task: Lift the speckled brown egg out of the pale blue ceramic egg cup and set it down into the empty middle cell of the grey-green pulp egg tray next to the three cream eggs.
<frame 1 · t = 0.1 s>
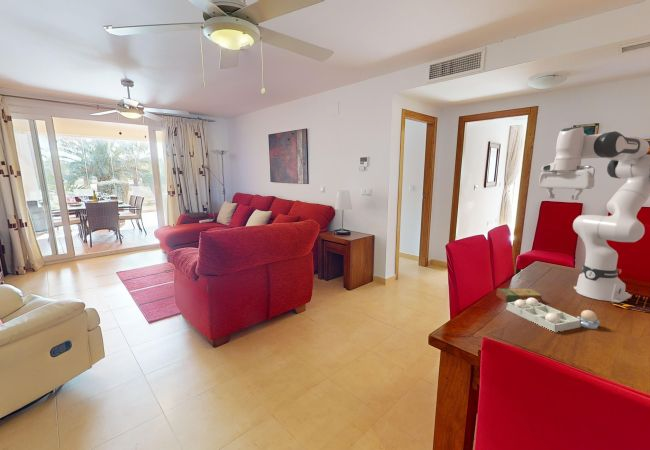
hand: (562, 199, 125), 48 cm above the table, fingers open, 8 cm apart
tray: (540, 317, 119), on the table
egg d: (531, 307, 126), point 1 cm above the table, touching tray
egg: (587, 321, 112), point 1 cm above the table, touching egg cup
egg b: (520, 309, 124), point 1 cm above the table, touching tray
egg cup: (587, 325, 113), on the table
egg c: (551, 324, 112), point 1 cm above the table, touching tray
carton: (517, 300, 137), on the table
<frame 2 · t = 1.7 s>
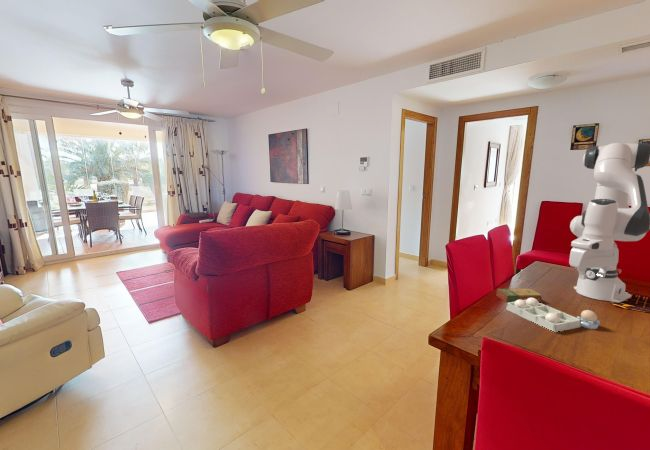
hand: (591, 277, 110), 19 cm above the table, fingers open, 8 cm apart
nothing on the table moved.
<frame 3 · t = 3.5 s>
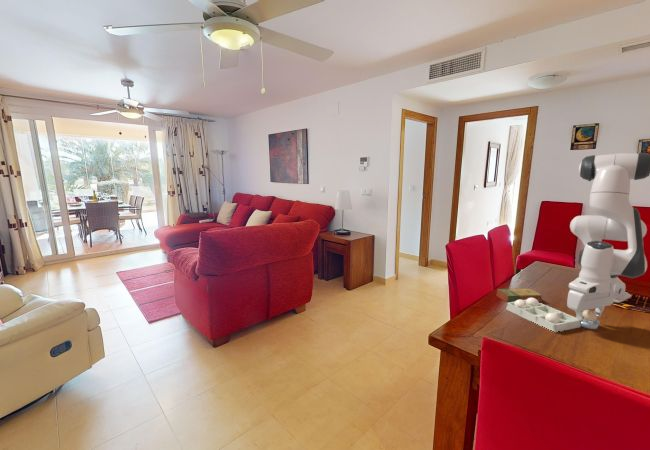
hand: (588, 317, 112), 3 cm above the table, fingers open, 8 cm apart
nothing on the table moved.
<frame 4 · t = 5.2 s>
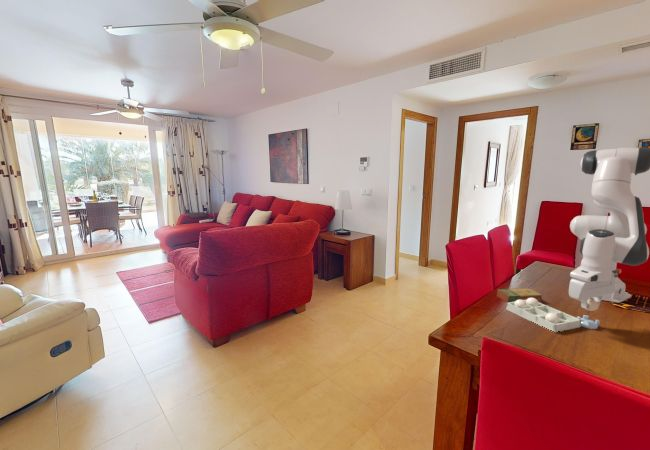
hand: (590, 306, 112), 8 cm above the table, fingers closed on egg, 5 cm apart
egg: (589, 310, 112), point 6 cm above the table, touching gripper
everything else where it was.
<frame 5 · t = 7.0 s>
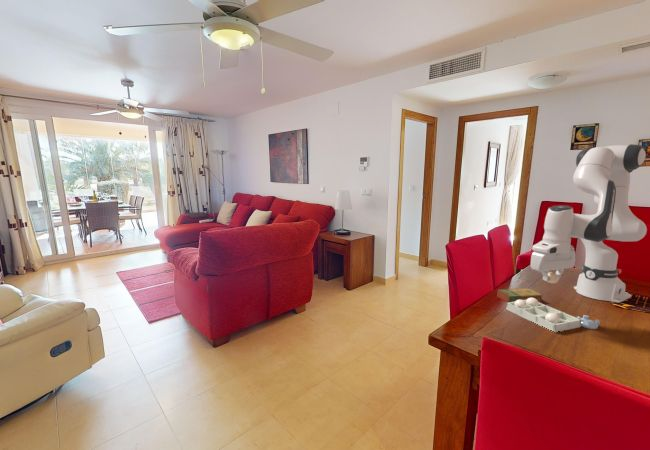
hand: (551, 279, 117), 16 cm above the table, fingers closed on egg, 5 cm apart
egg: (551, 283, 118), point 15 cm above the table, touching gripper
everything else where it was.
when the fingers open (4 cm above the table, at t = 9.8 s): egg drops 2 cm, resting on tray.
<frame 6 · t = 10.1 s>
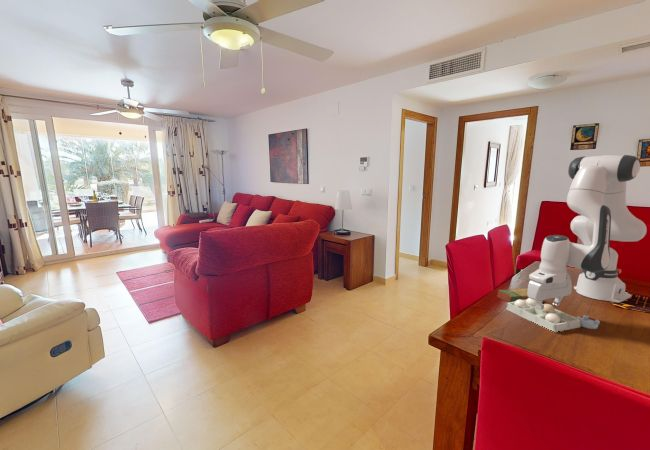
hand: (548, 307, 119), 4 cm above the table, fingers open, 7 cm apart
egg: (547, 314, 120), point 1 cm above the table, touching tray
everything else where it was.
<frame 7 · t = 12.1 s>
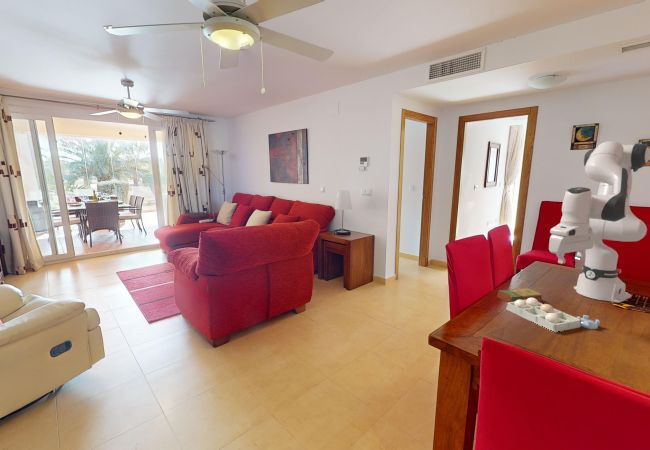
hand: (569, 261, 118), 23 cm above the table, fingers open, 8 cm apart
egg: (547, 314, 120), point 1 cm above the table, tilted 16°, touching tray
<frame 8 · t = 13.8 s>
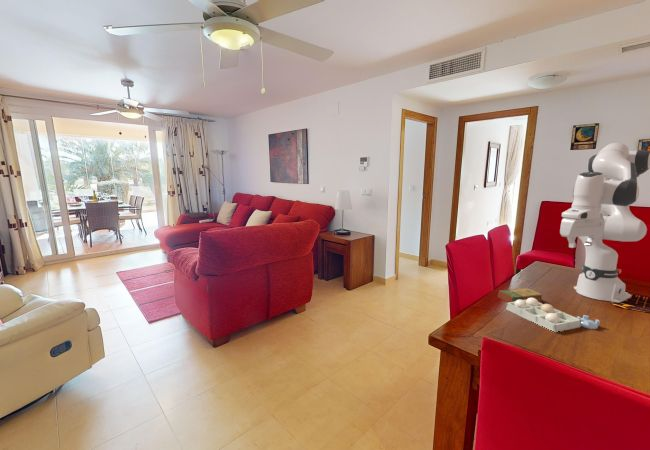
hand: (580, 246, 118), 29 cm above the table, fingers open, 8 cm apart
egg: (547, 314, 120), point 1 cm above the table, tilted 8°, touching tray
at the end: egg 0.1 cm from the target spot on the tray, point 0.8 cm above the tray's base; the gripper is holding nothing; egg d moved 0.1 cm from its start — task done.
